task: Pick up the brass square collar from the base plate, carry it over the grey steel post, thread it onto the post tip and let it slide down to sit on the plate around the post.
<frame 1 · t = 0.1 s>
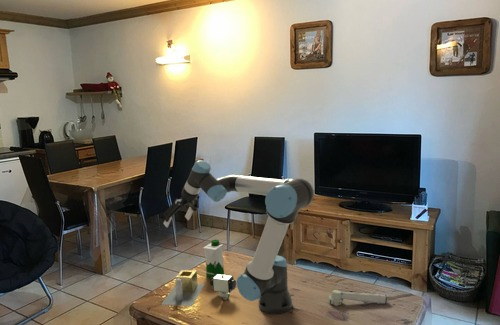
hand: (176, 221, 196), 36 cm above the table, tool tilted 35°, fingers open, 13 cm apart
milk carton: (215, 278, 214), on the table
beige knobbed bar: (357, 304, 181), on the table
post plate: (184, 296, 195), on the table
collar: (187, 288, 200), point 1 cm above the table, touching post plate
pneumatic valve: (224, 298, 192), on the table
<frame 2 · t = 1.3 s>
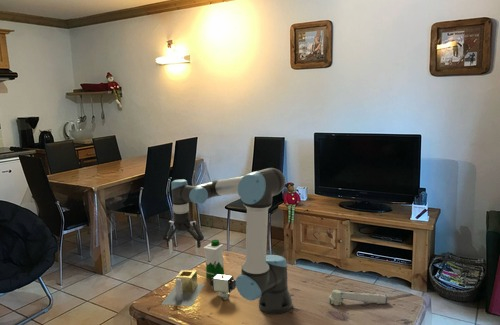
hand: (184, 253, 197), 20 cm above the table, tool pointing down, fingers open, 13 cm apart
nothing on the table moved.
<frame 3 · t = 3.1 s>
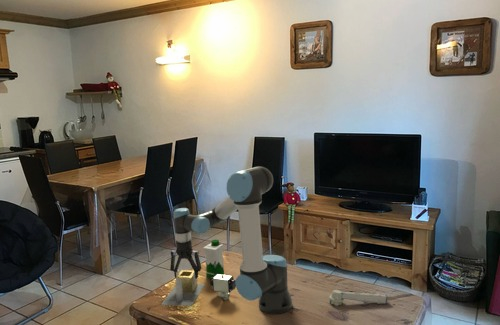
hand: (187, 283, 199), 4 cm above the table, tool pointing down, fingers closed on collar, 8 cm apart
collar: (187, 288, 200), point 2 cm above the table, touching gripper, post plate
everything else where it was.
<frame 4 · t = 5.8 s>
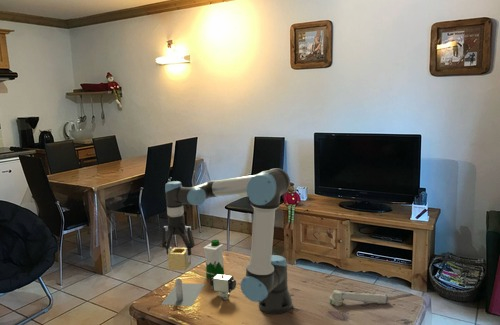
hand: (179, 261, 190), 19 cm above the table, tool pointing down, fingers closed on collar, 8 cm apart
collar: (180, 266, 190), point 16 cm above the table, touching gripper
everything else where it was.
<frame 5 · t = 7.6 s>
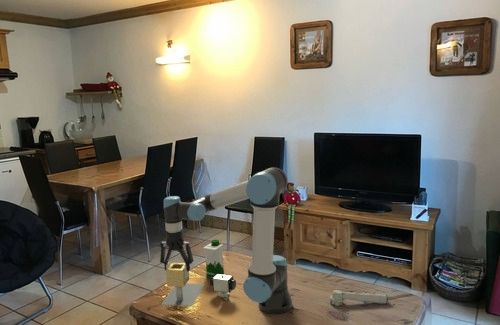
hand: (178, 277, 187), 13 cm above the table, tool pointing down, fingers closed on collar, 8 cm apart
collar: (178, 282, 188), point 10 cm above the table, touching gripper
everything else where it was.
when the fingers open (13 cm above the table, at t = 8.7 s): collar drops 8 cm, resting on post plate.
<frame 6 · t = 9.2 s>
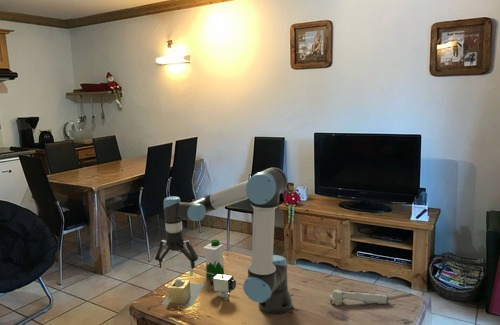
hand: (177, 274, 187), 14 cm above the table, tool pointing down, fingers open, 13 cm apart
collar: (180, 299, 189), point 1 cm above the table, touching post plate
everything else where it was.
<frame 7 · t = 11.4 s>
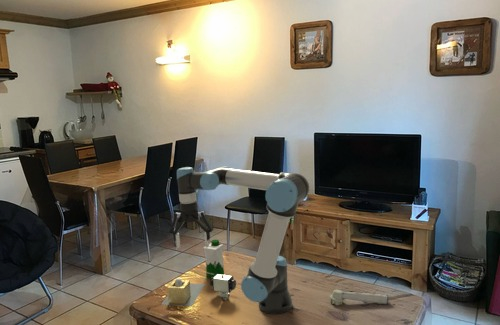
hand: (193, 247, 184), 28 cm above the table, tool pointing down, fingers open, 13 cm apart
nothing on the table moved.
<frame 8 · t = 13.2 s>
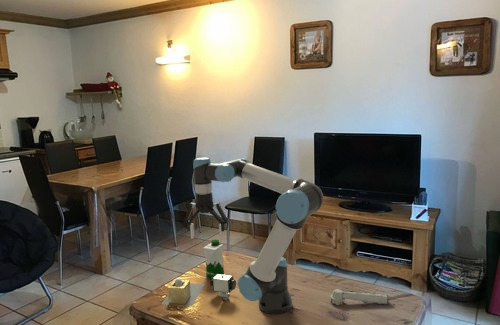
hand: (207, 238, 183), 32 cm above the table, tool pointing down, fingers open, 13 cm apart
nothing on the table moved.
at the end: collar 0.0 cm from the target spot on the post plate, point 1.5 cm above the post plate's base; collar tilted 0°; the gripper is holding nothing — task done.
